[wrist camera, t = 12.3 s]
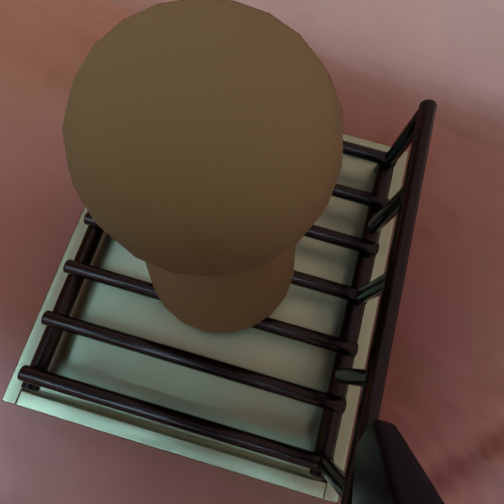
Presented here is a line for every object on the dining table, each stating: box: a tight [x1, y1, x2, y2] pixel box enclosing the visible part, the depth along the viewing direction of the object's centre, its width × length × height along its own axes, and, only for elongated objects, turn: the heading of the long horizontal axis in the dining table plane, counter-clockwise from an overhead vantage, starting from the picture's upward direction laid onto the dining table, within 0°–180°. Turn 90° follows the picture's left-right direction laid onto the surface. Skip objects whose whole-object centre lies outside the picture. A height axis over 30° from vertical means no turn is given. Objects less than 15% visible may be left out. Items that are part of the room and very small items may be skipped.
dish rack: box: [2, 99, 437, 504], centre depth 16 cm, size 16×14×6 cm
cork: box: [62, 0, 343, 333], centre depth 12 cm, size 6×6×11 cm
